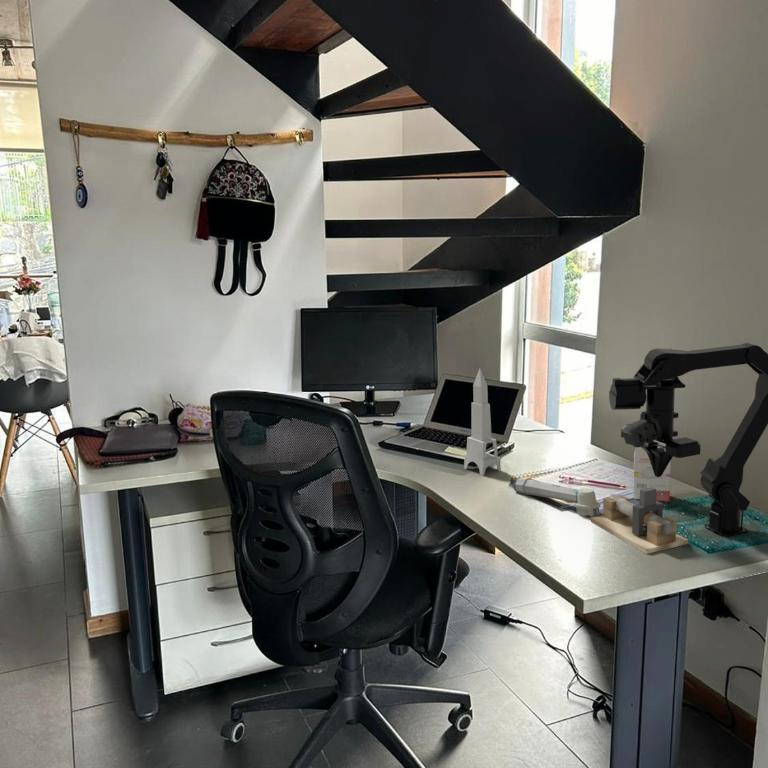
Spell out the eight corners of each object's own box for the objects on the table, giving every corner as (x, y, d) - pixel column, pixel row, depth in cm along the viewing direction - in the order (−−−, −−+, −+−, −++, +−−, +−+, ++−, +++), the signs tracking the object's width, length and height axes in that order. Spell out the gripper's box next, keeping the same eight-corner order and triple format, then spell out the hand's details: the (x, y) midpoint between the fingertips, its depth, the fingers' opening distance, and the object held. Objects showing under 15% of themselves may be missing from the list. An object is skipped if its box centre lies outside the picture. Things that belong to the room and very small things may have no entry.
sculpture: (482, 475, 204) (480, 371, 197) (463, 468, 210) (461, 367, 204) (500, 470, 207) (499, 367, 201) (482, 463, 214) (479, 364, 208)
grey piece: (524, 474, 192) (603, 485, 172) (527, 499, 193) (605, 512, 172) (510, 479, 189) (589, 490, 169) (513, 504, 189) (592, 518, 169)
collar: (655, 527, 161) (657, 485, 159) (662, 530, 159) (663, 488, 157) (632, 533, 159) (633, 490, 157) (638, 536, 157) (639, 493, 155)
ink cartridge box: (669, 495, 183) (671, 439, 179) (669, 502, 178) (671, 445, 175) (633, 492, 186) (635, 437, 183) (632, 499, 181) (634, 443, 178)
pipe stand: (629, 513, 172) (630, 489, 171) (688, 543, 155) (689, 517, 154) (590, 521, 169) (591, 497, 168) (646, 553, 151) (647, 526, 150)
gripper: (601, 403, 162) (601, 470, 165) (660, 422, 145) (657, 496, 148) (642, 397, 166) (640, 462, 169) (703, 415, 148) (700, 487, 152)
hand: (658, 476), depth 159 cm, fingers closed
